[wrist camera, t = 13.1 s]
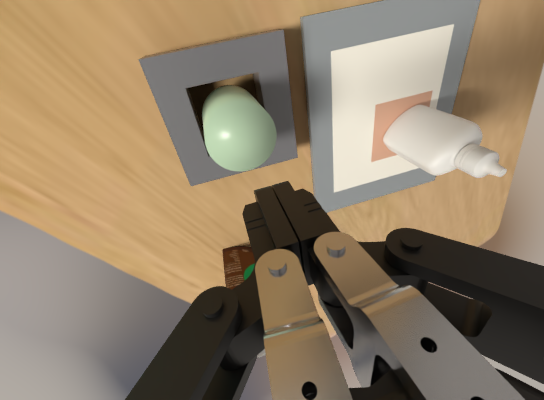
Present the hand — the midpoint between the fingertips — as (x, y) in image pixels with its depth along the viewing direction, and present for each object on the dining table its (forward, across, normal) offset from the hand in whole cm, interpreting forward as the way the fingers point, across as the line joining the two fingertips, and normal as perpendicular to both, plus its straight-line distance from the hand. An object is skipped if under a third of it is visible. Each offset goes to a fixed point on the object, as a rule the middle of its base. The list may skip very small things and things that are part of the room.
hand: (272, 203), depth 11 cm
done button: (+14, 0, 0) cm, 14 cm away
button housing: (+17, 0, 0) cm, 17 cm away
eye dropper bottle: (+16, -19, +6) cm, 26 cm away
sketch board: (+17, -17, +5) cm, 24 cm away
